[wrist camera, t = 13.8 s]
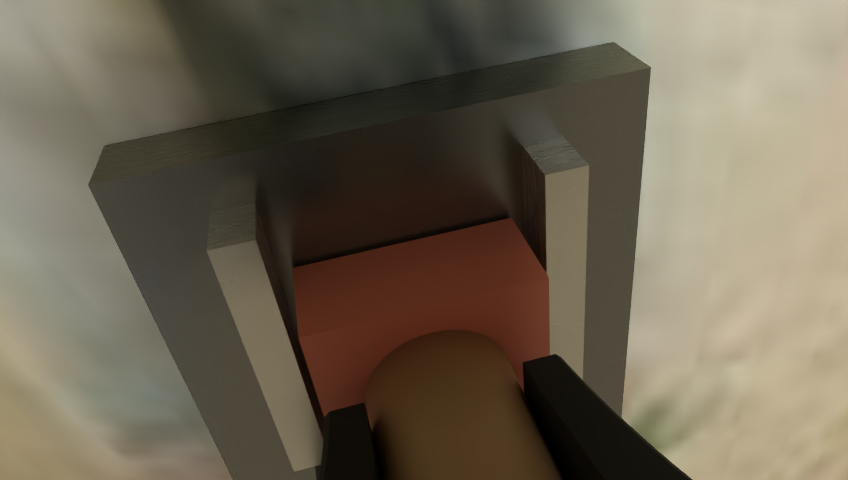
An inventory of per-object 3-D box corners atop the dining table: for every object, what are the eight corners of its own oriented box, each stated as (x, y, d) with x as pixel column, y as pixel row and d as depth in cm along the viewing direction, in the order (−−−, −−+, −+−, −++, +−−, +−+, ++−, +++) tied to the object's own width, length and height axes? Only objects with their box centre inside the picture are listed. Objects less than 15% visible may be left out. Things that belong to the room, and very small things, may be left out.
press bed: (588, 560, 25) (621, 634, 23) (328, 636, 24) (336, 721, 21) (613, 42, 13) (686, 91, 11) (104, 146, 12) (72, 224, 10)
